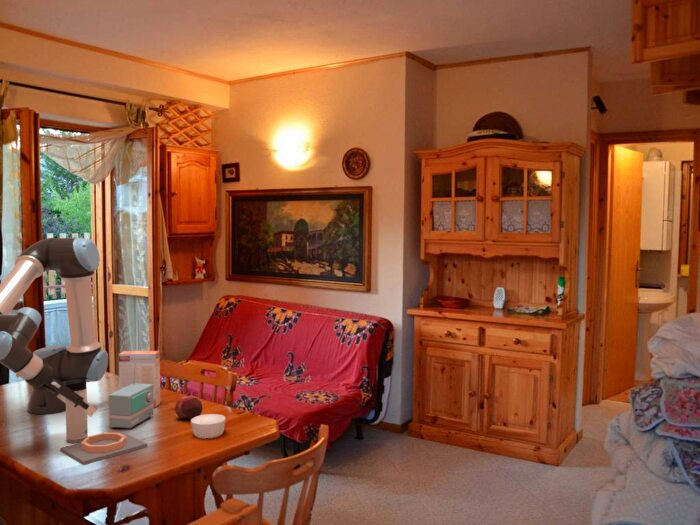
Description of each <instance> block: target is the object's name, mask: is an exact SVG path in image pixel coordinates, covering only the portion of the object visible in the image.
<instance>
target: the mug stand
mask: <svg viewBox="0 0 700 525" xmlns="http://www.w3.org/2000/svg"><path fill="white" fill-rule="evenodd" d="M59 448H60V449H59V450H60V452H62V453H63V454H65V455H66V456H68V457H70V458H72V459H73V460H75V461H77V462H79V464H81V465H84V466H85V465H88V464H91V463H95V462H99V461H103V460H106V459H110V458H112V457H116V456H120V455H124V454H126V453H127V454H128V453H131V452H133V451H137V450H141V449H144V448H148V443H147V442H145V441H142V440H140V439H138V438H136V437H134V436H131V435H129V434H127V433H126V432H123V431H121V432H101V433H96V434H93V435H89V436H88V437H87V438H85V439H84V440H83V441H82V442H79V443H72V444H70V445H65V446H62V447H59Z"/></svg>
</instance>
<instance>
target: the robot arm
mask: <svg viewBox="0 0 700 525" xmlns="http://www.w3.org/2000/svg"><path fill="white" fill-rule="evenodd" d="M94 242H95V241H93V240H92V239H89V238H81V237H58V238H57V237H56V238H55V237H48V238H43V239H41V240H38V241H37V242H35V243H32V244H31V245H30V246H28V247H27V248H26V249H25V250H23V251H22V252H21V253H20V255H19V256H18V257H17V258H16V259H15V263H14V266H13V268H12V269H11V271H10V272H9V273H8V275H7V276H6V277H5V278H4V279H3V281H2V282H0V364H1V365H3V366H4V367H5V368H7V369H8V370H10V371H11V372H13V373H14V374H15V377H16V378H21V379H22V380H24V381H25V383H27V384H29V385H30V386H32V390H31V394H30V397H29V400H28V402H27V403H28V404H27V412H28V413H30V414H35V415H49V414H56V413H61V412H66V398H67V399H68V400H70V401H71V402H73V403H74V404H75V405H74V407H78V408H80V409H81V410H82V411H84V412H85V413H86V414H87V416H89V417H91V418H92V416H93V415H94V414H95V413H96V411H97V410H98V409H97V408H95V407H94V406H93V405H92V404H90V403H89V402H88V400H87V401H85V400H84V398H83V397H81V396H80V395H78V394H77V393H75V392H74V391H72V390H71V389H69V388H68V387H66V386H65V385H66V381H68V380H70V379H73V378H79V377H84V376H85V377H87V379H86V383H90V382H92V383H93V382H94V383H95V382H99V381H100V380H102V379H103V377H104V375H105V374H106V371H107V369H108V366H109V353H108V352H107V351H106V350H104V349H102V348H101V346H102V345H101V342H99V341H97V340H96V338H97V337H96V329H95V319H94V318H95V316H94V305H93V304H94V303H93V295H92V294H93V293H92V286H91V285H92V284H91V279H92V277H93V276H95V271H96V270H98V269H99V266H100V261H101V260H100V252H99V249H98V246H97V245H96V243H94ZM48 271H58V275H59V278H60V279H62V280H63V282H64V289H65V290H64V291H65V297H66V299H65V301H66V310H67V319H68V328H69V330H68V331H69V338H70V344H68V345H67V346H66V345H63V344H61V345H58V344H57V345H51V346H46V347H42V348H39V349H36V350H34V351H33V352H32V351H31V350H30V349H29V348H28V347H29V344H30V343H31V341H32V340H33V338H34V336H35V334H36V332H37V331H38V330H39V327H40V325H41V322H42V315H41V313H40V312H39V311H38V310H36V309H35V308H32V307H30V306H29V307H28V306H26V307H25V306H24V307H21V308H19V309H18V310H17V311H16V312H15V314H10V313H11V312H12V310H13V309H14V308H15V306H16V305H17V303H19V301H20V299H21V298H22V296H23V295H25V293H26V291H27V290H28V289H29V287H30V286H31V284H32V283H33V282H34V281H35V279H37V278H39V277H41V276H42V275H43V273H45V272H48Z"/></svg>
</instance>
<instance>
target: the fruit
mask: <svg viewBox="0 0 700 525" xmlns="http://www.w3.org/2000/svg"><path fill="white" fill-rule="evenodd" d="M174 410H175V414H176V415H177V416H178V418H181V419H189V420H192V419H193V418H194V417H197V416H200V415H202V412H203V403H202V400H201V399H200V398H198V396H195V395H194V396H193V395H192V394H191V393H190V391H189V390H188V392H187V393H185V394H184V396H182V397H181V398H180V399H178V400H177V401H176V404H175V406H174Z"/></svg>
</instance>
